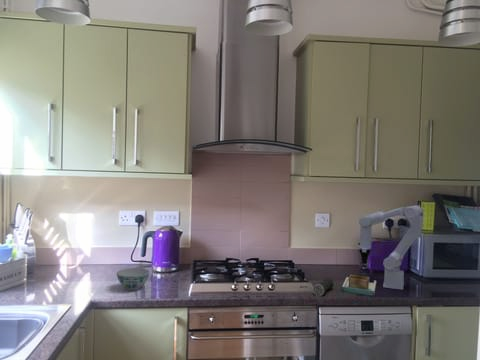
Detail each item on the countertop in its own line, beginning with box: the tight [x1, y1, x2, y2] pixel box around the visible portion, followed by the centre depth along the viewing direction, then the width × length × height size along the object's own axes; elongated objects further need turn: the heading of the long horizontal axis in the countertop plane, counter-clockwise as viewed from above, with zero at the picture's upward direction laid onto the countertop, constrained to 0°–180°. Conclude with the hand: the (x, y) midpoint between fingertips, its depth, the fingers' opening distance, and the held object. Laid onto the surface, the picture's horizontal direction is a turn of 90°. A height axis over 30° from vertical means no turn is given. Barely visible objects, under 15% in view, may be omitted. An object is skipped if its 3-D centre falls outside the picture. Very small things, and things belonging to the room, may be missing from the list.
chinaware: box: [116, 267, 150, 291], centre depth 184 cm, size 15×15×8 cm
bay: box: [341, 276, 377, 296], centre depth 196 cm, size 15×20×2 cm
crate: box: [348, 274, 370, 290], centre depth 192 cm, size 9×7×6 cm
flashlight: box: [312, 277, 335, 297], centre depth 188 cm, size 15×5×5 cm, turn 148°
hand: (364, 263), depth 210 cm, fingers closed
